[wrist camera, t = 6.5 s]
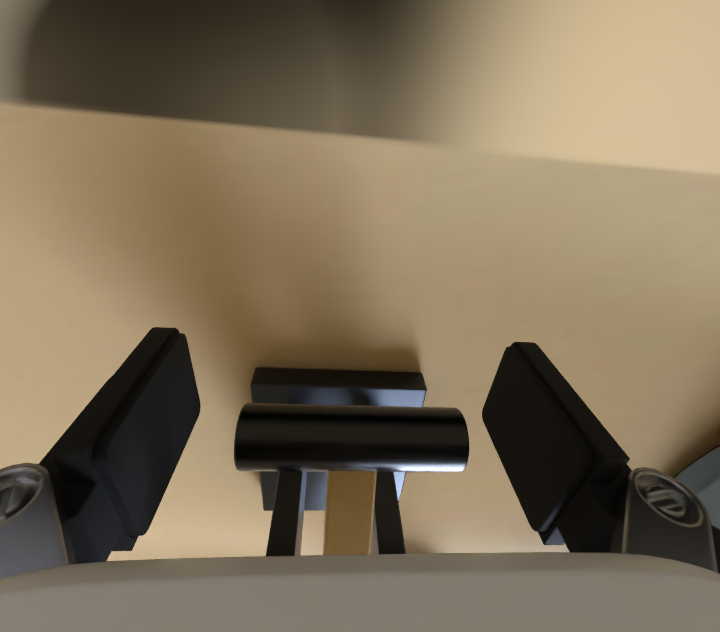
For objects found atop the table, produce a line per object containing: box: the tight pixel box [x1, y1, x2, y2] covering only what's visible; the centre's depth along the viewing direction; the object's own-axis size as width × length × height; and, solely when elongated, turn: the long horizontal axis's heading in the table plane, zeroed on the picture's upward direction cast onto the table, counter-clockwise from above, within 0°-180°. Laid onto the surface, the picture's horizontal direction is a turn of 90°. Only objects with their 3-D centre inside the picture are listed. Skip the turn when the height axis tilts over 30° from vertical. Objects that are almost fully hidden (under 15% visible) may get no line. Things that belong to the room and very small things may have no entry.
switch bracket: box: [251, 368, 427, 556], centre depth 14 cm, size 10×8×13 cm
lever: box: [234, 403, 469, 555], centre depth 9 cm, size 12×5×2 cm, turn 175°
